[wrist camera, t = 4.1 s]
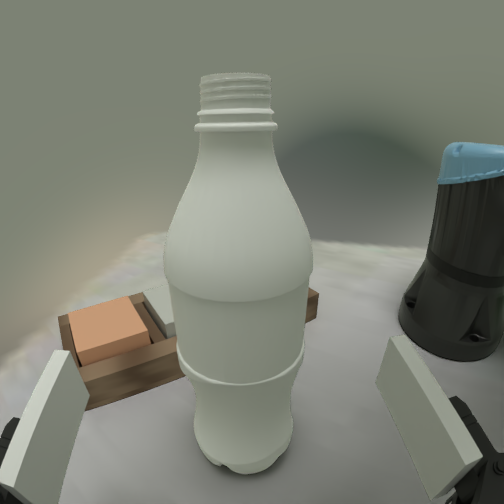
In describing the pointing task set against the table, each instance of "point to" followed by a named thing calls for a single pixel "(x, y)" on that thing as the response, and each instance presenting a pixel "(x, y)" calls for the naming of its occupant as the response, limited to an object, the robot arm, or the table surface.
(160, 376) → the keypad
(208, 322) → the water bottle
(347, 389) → the table surface
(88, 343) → the orange square block
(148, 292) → the key middle
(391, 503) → the table surface
